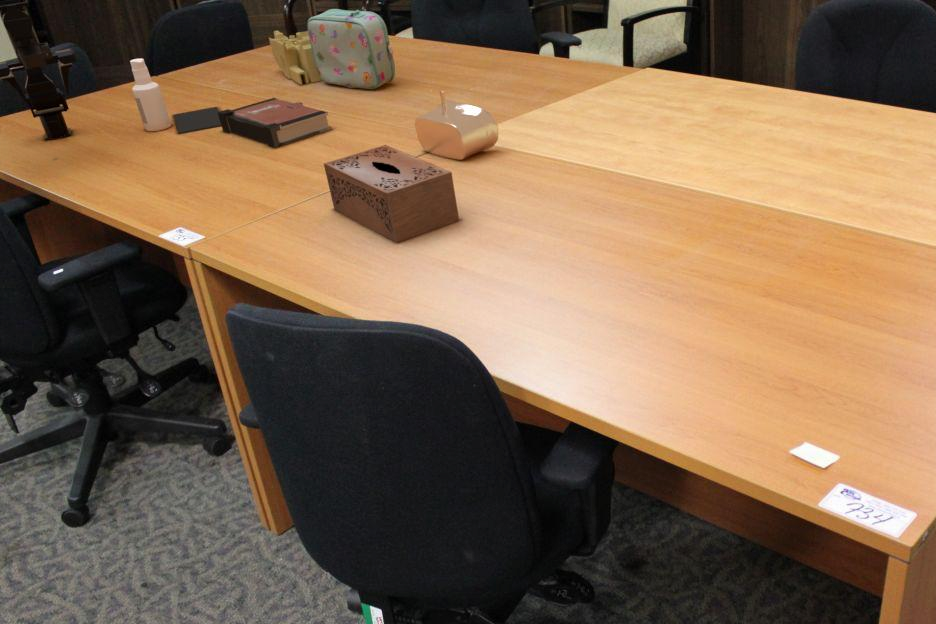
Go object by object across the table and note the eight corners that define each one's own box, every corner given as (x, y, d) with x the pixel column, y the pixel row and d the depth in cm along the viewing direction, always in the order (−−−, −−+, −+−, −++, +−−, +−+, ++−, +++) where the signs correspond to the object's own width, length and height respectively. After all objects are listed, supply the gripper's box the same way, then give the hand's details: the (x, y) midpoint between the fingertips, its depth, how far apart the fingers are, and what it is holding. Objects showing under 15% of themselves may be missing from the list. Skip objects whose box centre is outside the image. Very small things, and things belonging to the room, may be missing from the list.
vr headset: (502, 149, 228) (494, 88, 220) (466, 164, 221) (457, 101, 213) (451, 137, 239) (442, 78, 231) (415, 151, 232) (405, 90, 224)
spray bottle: (162, 122, 268) (140, 55, 259) (176, 125, 265) (155, 57, 255) (140, 129, 264) (117, 62, 254) (155, 132, 260) (132, 64, 251)
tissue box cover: (334, 209, 203) (323, 163, 198) (393, 189, 211) (385, 144, 205) (396, 242, 186) (386, 193, 181) (459, 220, 194) (451, 172, 188)
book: (333, 128, 252) (329, 109, 249) (275, 148, 242) (269, 128, 239) (280, 113, 268) (275, 95, 265) (222, 131, 257) (217, 112, 255)
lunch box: (405, 83, 285) (391, 6, 273) (381, 93, 278) (366, 14, 266) (340, 76, 298) (324, 2, 286) (315, 85, 291) (298, 10, 279)
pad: (173, 115, 274) (172, 114, 273) (216, 107, 277) (216, 106, 277) (178, 134, 258) (178, 132, 258) (224, 125, 262) (224, 124, 262)
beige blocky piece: (353, 24, 293) (287, 29, 284) (361, 78, 299) (297, 85, 290) (328, 25, 312) (266, 31, 303) (337, 76, 318) (276, 83, 309)
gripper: (-21, 43, 219) (8, 113, 227) (66, 27, 227) (92, 94, 235) (-23, 40, 228) (6, 107, 236) (62, 24, 236) (87, 89, 243)
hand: (48, 99), depth 237 cm, fingers open, 9 cm apart
